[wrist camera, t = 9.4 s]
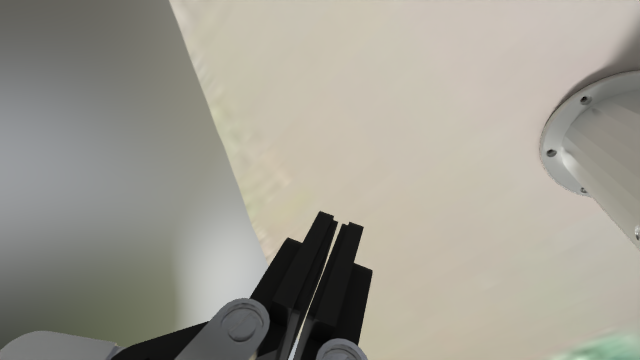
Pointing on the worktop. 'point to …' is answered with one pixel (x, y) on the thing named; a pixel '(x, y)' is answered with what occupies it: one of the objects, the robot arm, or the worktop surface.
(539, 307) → the worktop surface
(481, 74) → the worktop surface
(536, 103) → the worktop surface
